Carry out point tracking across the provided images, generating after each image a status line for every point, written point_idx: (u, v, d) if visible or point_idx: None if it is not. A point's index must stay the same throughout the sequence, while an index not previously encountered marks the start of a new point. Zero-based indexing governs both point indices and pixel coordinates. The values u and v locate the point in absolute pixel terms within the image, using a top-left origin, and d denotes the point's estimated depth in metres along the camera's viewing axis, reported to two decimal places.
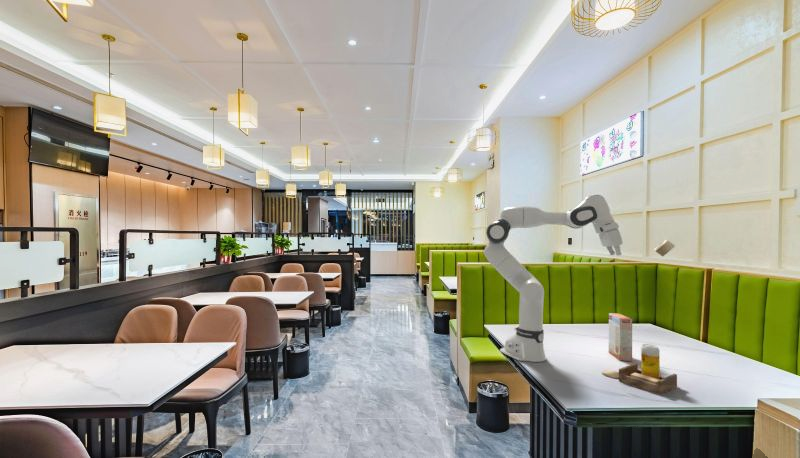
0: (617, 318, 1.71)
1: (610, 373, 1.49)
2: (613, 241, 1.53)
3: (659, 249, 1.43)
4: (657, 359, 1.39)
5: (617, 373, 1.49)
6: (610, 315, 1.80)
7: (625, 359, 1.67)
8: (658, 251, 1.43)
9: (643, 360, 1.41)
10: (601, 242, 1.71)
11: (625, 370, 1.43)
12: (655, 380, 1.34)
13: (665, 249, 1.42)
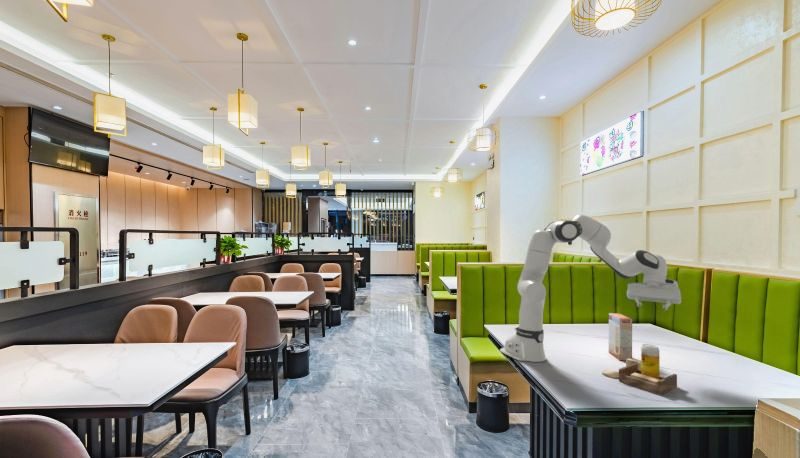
0: (617, 318, 1.71)
1: (610, 373, 1.49)
2: (680, 295, 1.50)
3: None
4: (657, 359, 1.39)
5: (617, 373, 1.49)
6: (610, 315, 1.80)
7: (625, 359, 1.67)
8: None
9: (643, 360, 1.41)
10: (629, 291, 1.63)
11: (625, 370, 1.43)
12: (655, 380, 1.34)
13: None
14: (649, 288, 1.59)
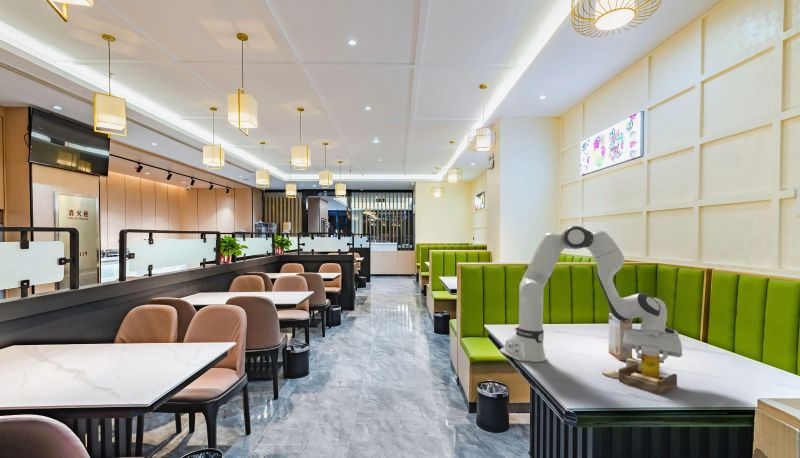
0: None
1: (610, 373, 1.49)
2: (681, 348, 1.37)
3: None
4: (657, 359, 1.39)
5: (617, 373, 1.49)
6: (610, 315, 1.80)
7: (625, 359, 1.67)
8: None
9: (643, 360, 1.41)
10: (626, 338, 1.50)
11: (625, 370, 1.43)
12: (655, 380, 1.34)
13: None
14: (647, 337, 1.47)
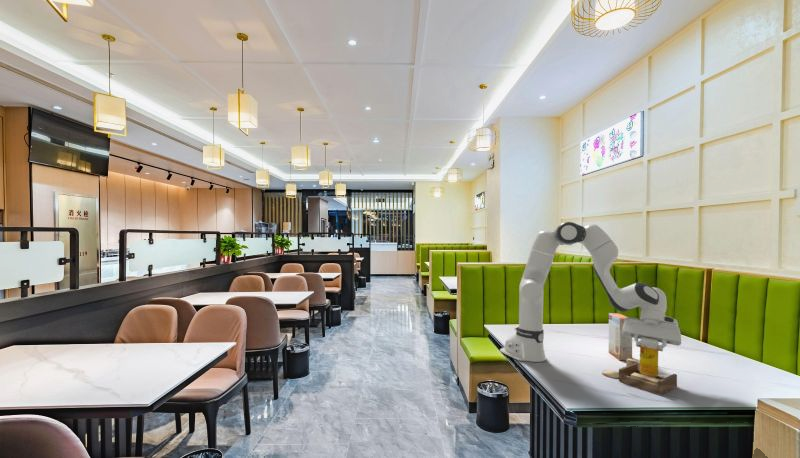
0: (617, 318, 1.71)
1: (610, 373, 1.49)
2: (680, 337, 1.38)
3: None
4: (656, 351, 1.39)
5: (617, 373, 1.49)
6: (610, 315, 1.80)
7: (625, 359, 1.67)
8: None
9: (642, 352, 1.41)
10: (625, 327, 1.50)
11: (625, 370, 1.43)
12: (655, 380, 1.34)
13: None
14: (647, 325, 1.47)
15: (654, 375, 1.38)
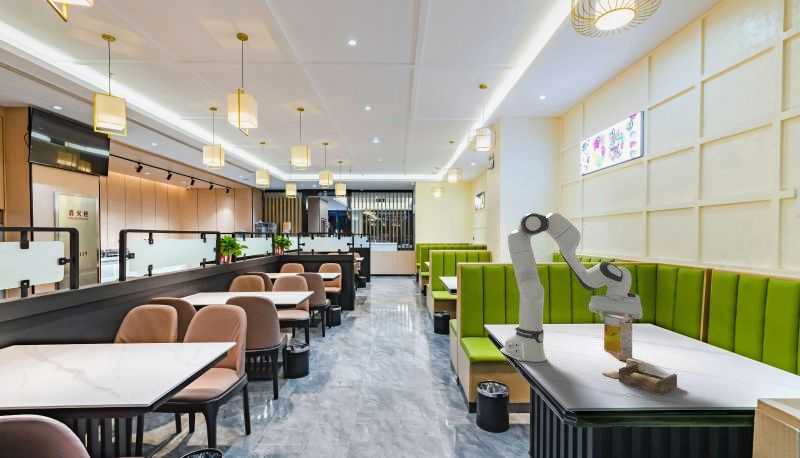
0: None
1: (610, 373, 1.49)
2: (641, 310, 1.46)
3: None
4: (618, 329, 1.47)
5: (617, 373, 1.49)
6: (610, 315, 1.80)
7: (625, 359, 1.67)
8: None
9: (606, 330, 1.49)
10: (592, 303, 1.58)
11: (625, 370, 1.43)
12: (655, 380, 1.34)
13: None
14: (611, 301, 1.55)
15: (616, 351, 1.46)
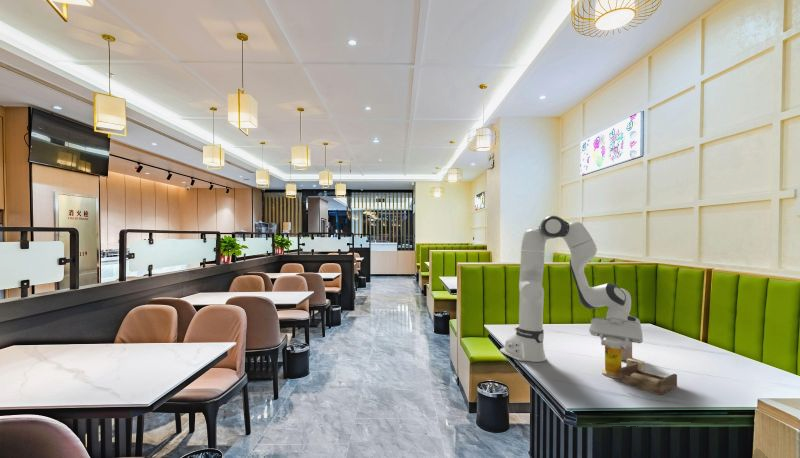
0: None
1: None
2: (641, 335, 1.45)
3: None
4: (619, 351, 1.46)
5: None
6: None
7: (625, 359, 1.67)
8: None
9: (606, 352, 1.48)
10: (592, 327, 1.57)
11: (625, 370, 1.43)
12: (656, 380, 1.34)
13: None
14: (611, 325, 1.54)
15: (618, 373, 1.45)
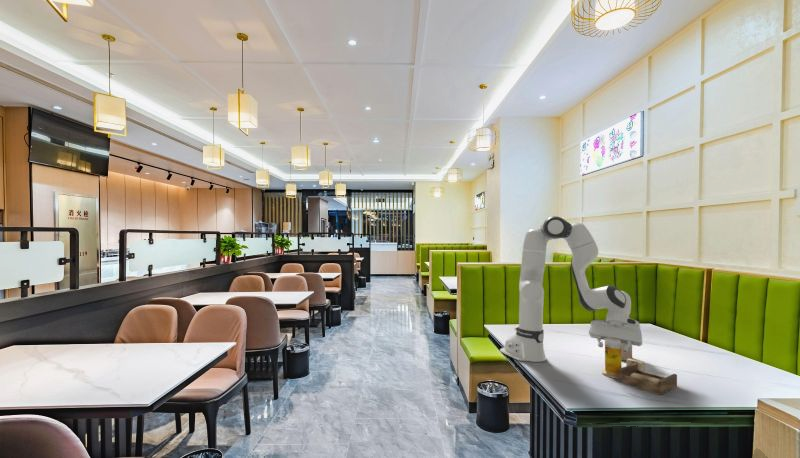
0: None
1: None
2: (641, 337, 1.45)
3: None
4: (619, 351, 1.46)
5: None
6: None
7: (625, 359, 1.67)
8: None
9: (606, 352, 1.48)
10: (592, 329, 1.57)
11: (625, 370, 1.43)
12: (656, 380, 1.34)
13: None
14: (611, 327, 1.54)
15: (618, 373, 1.45)
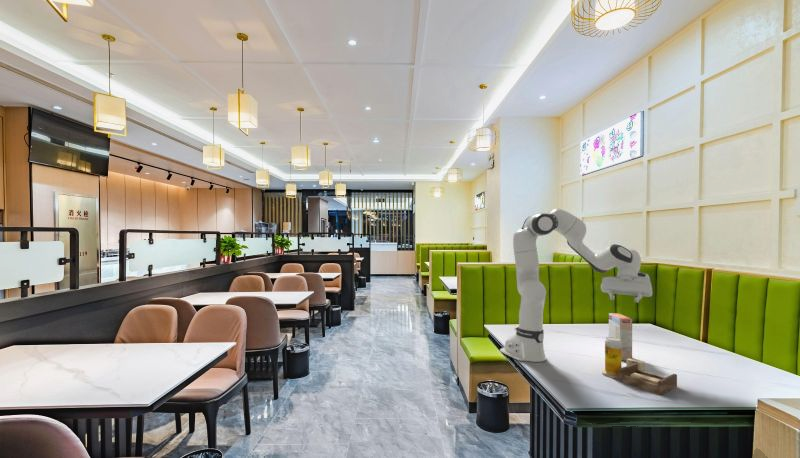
0: (617, 318, 1.71)
1: None
2: (651, 288, 1.53)
3: None
4: (619, 351, 1.46)
5: None
6: (610, 315, 1.80)
7: (625, 359, 1.67)
8: None
9: (606, 352, 1.48)
10: (603, 284, 1.65)
11: (625, 370, 1.43)
12: (656, 380, 1.34)
13: None
14: (622, 281, 1.62)
15: (618, 373, 1.45)
